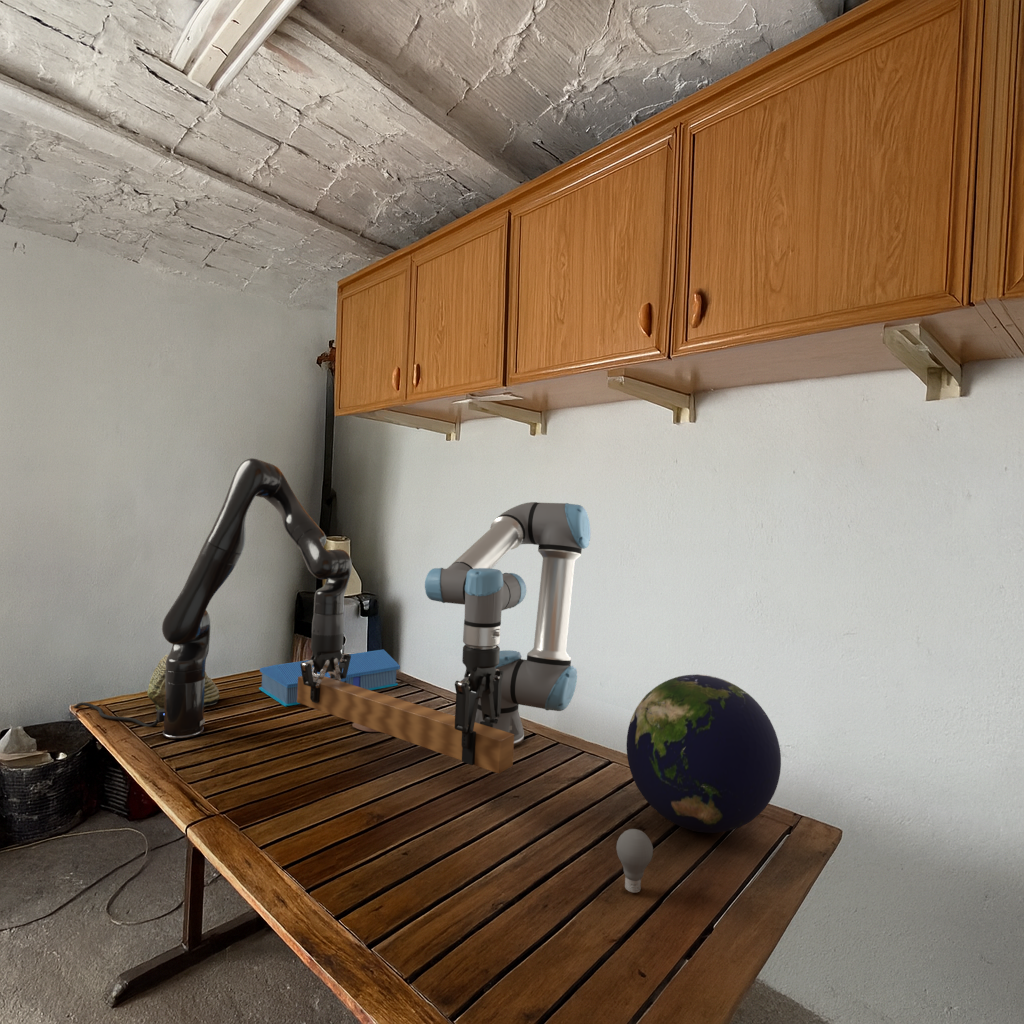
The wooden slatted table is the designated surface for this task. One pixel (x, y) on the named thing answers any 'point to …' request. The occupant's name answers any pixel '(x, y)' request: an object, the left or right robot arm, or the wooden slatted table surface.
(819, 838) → the wooden slatted table surface
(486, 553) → the right robot arm
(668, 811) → the globe
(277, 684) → the model building
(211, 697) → the fossil
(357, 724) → the anatomical model
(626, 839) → the light bulb
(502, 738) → the post
